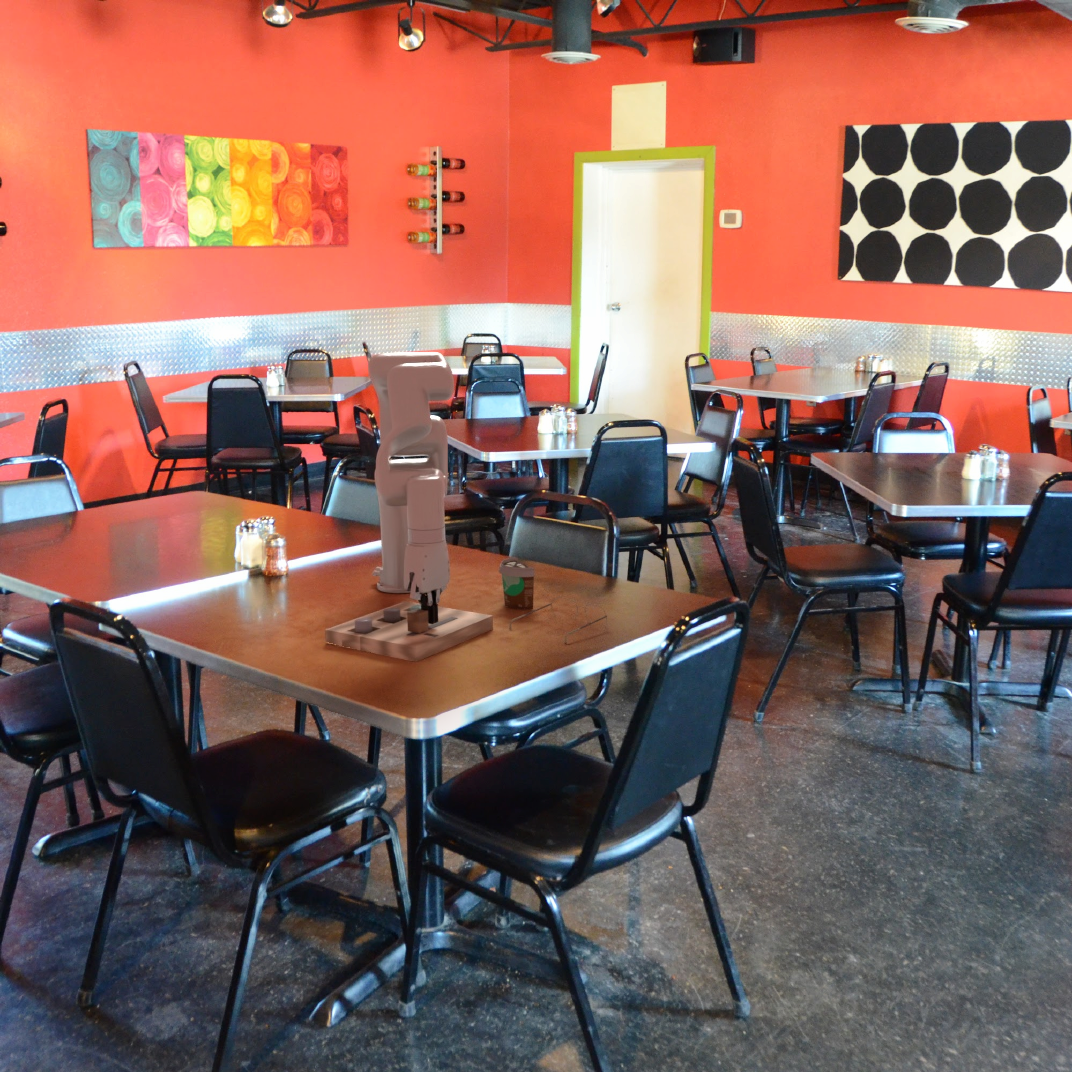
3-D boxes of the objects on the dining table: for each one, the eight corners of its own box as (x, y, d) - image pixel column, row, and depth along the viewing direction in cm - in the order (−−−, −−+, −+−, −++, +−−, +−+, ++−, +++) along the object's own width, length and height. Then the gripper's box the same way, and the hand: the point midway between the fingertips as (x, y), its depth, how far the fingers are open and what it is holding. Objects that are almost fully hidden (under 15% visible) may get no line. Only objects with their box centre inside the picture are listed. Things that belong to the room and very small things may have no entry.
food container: (492, 600, 272) (491, 558, 270) (517, 597, 275) (516, 556, 272) (509, 613, 261) (508, 570, 259) (535, 610, 263) (534, 567, 261)
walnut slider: (407, 631, 237) (407, 612, 236) (417, 627, 240) (416, 608, 239) (419, 633, 235) (418, 614, 235) (428, 629, 238) (427, 610, 237)
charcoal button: (380, 624, 247) (379, 610, 246) (391, 620, 250) (390, 606, 249) (393, 626, 245) (392, 613, 245) (404, 622, 248) (403, 609, 247)
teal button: (407, 620, 255) (407, 607, 254) (418, 617, 258) (417, 603, 257) (420, 623, 253) (420, 609, 252) (430, 619, 256) (430, 606, 255)
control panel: (326, 643, 241) (325, 629, 241) (406, 613, 262) (405, 600, 262) (416, 661, 228) (415, 646, 228) (493, 629, 249) (492, 615, 249)
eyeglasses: (611, 629, 250) (611, 606, 249) (565, 645, 239) (565, 622, 238) (555, 616, 260) (555, 594, 259) (509, 631, 249) (508, 608, 248)
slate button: (351, 635, 240) (350, 621, 239) (363, 630, 243) (362, 617, 242) (364, 637, 238) (364, 623, 237) (376, 633, 241) (375, 619, 240)
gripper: (434, 527, 245) (437, 611, 249) (388, 540, 233) (392, 628, 236) (463, 530, 241) (466, 616, 245) (418, 544, 228) (421, 634, 232)
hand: (429, 622), depth 240 cm, fingers closed
